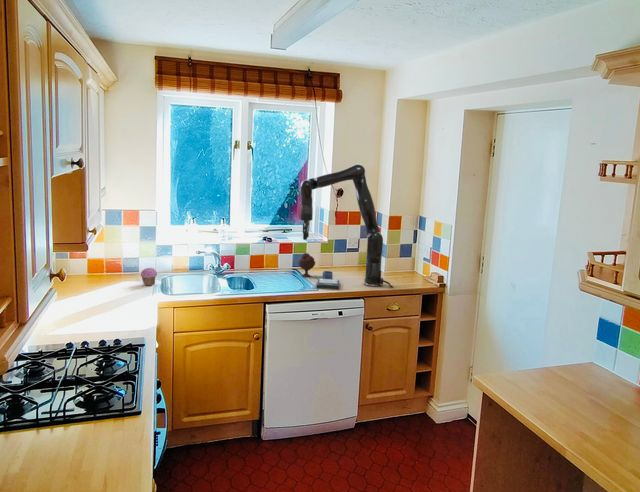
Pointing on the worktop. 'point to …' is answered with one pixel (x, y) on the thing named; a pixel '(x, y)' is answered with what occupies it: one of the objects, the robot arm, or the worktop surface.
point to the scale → (328, 284)
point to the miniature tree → (306, 263)
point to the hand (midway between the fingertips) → (305, 238)
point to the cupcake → (148, 276)
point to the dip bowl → (327, 275)
